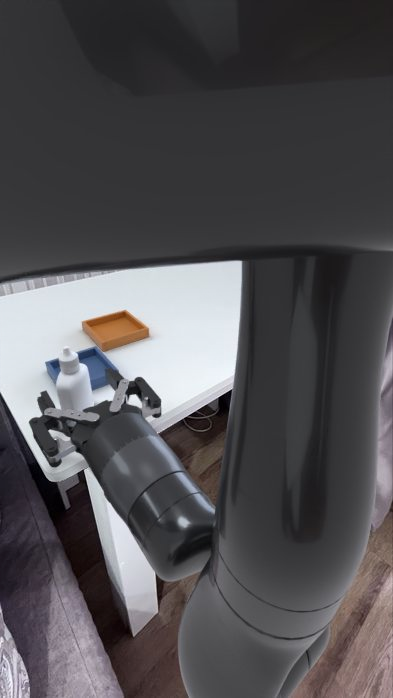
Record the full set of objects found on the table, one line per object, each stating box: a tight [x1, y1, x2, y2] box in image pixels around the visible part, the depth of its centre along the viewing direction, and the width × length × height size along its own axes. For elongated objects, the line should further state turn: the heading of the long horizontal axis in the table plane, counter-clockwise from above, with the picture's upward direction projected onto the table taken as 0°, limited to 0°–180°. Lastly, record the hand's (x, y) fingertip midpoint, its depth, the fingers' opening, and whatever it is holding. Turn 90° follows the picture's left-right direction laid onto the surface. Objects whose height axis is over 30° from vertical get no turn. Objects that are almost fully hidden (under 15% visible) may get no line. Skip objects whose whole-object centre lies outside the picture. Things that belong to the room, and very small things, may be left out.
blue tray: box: [44, 345, 120, 391], centre depth 56 cm, size 9×9×2 cm
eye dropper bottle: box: [55, 345, 95, 424], centre depth 46 cm, size 4×6×12 cm
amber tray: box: [81, 309, 150, 353], centre depth 69 cm, size 10×10×2 cm
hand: (77, 384), depth 44 cm, fingers open, 8 cm apart
